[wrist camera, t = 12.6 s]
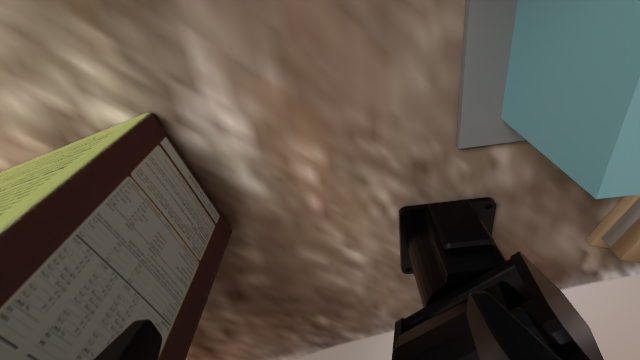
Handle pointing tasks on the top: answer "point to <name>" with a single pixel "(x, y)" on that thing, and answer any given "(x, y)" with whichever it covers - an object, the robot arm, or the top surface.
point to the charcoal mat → (485, 73)
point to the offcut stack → (620, 230)
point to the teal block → (579, 89)
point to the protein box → (105, 245)
